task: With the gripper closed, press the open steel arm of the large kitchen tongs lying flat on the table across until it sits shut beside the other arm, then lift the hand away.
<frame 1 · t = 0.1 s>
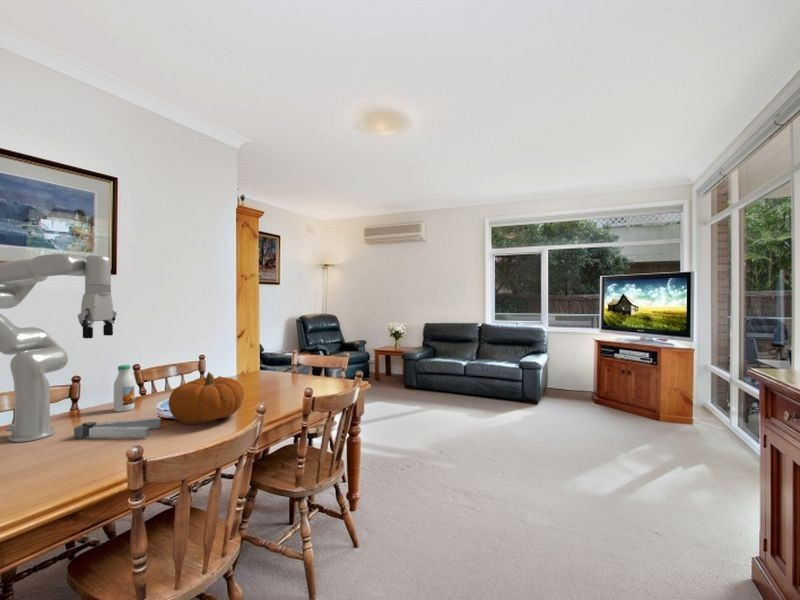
hand: (98, 336, 145), 37 cm above the table, tool pointing down, fingers open, 9 cm apart
milk bottle: (124, 410, 180), on the table
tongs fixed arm: (92, 435, 147), on the table
pumpkin: (207, 419, 167), on the table
tongs free arm: (129, 425, 152), point 2 cm above the table, hinge at 22.0°
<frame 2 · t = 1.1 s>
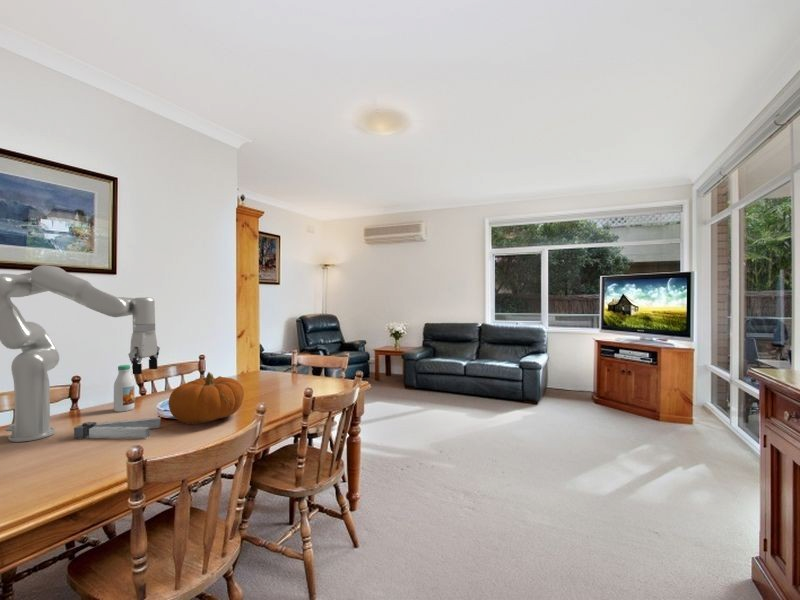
hand: (145, 371, 159), 22 cm above the table, tool pointing down, fingers open, 9 cm apart
nothing on the table moved.
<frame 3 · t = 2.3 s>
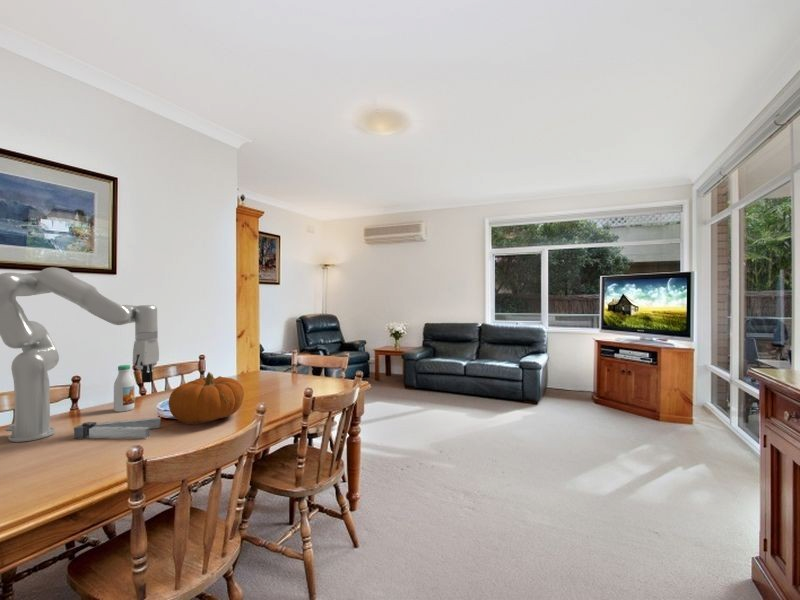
hand: (147, 381, 159), 17 cm above the table, tool pointing down, fingers closed
nothing on the table moved.
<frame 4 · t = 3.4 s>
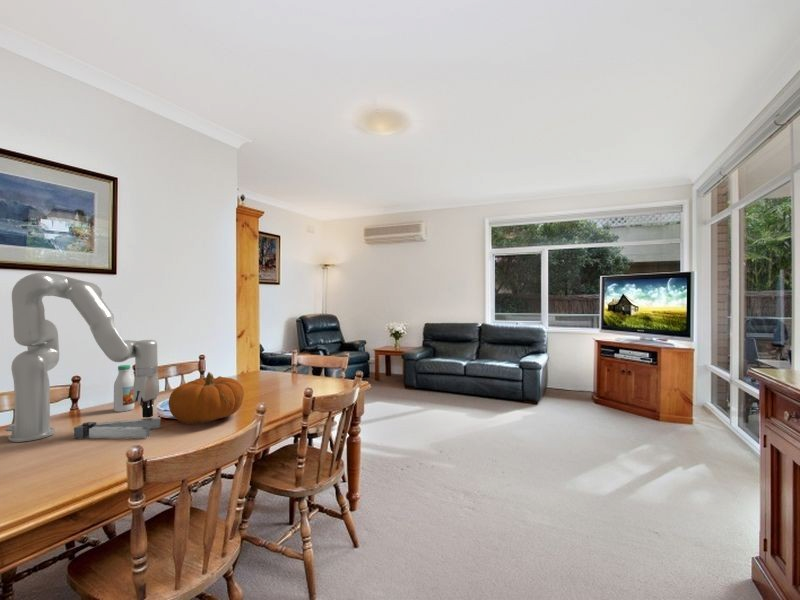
hand: (147, 416, 160), 3 cm above the table, tool pointing down, fingers closed
nothing on the table moved.
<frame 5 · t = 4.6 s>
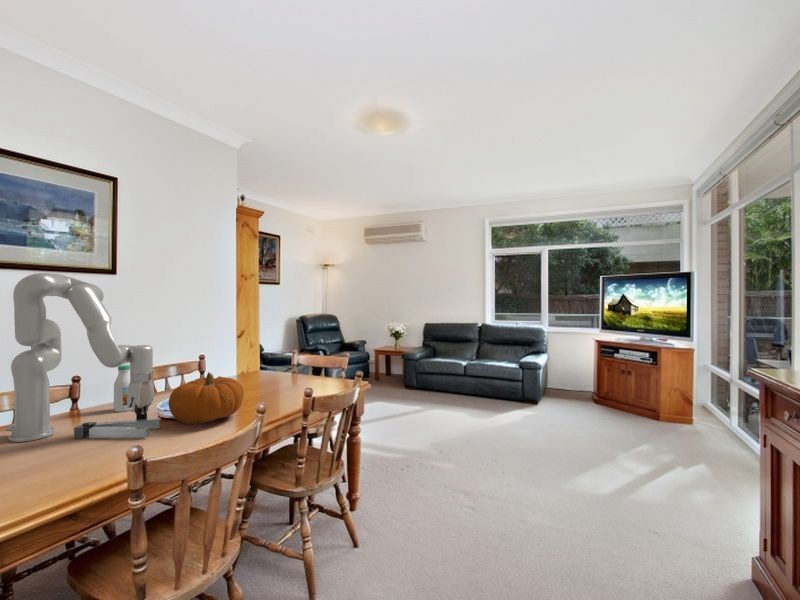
hand: (141, 423, 156), 2 cm above the table, tool pointing down, fingers closed
tongs free arm: (129, 425, 152), point 2 cm above the table, hinge at 20.0°, touching gripper
everything else where it was.
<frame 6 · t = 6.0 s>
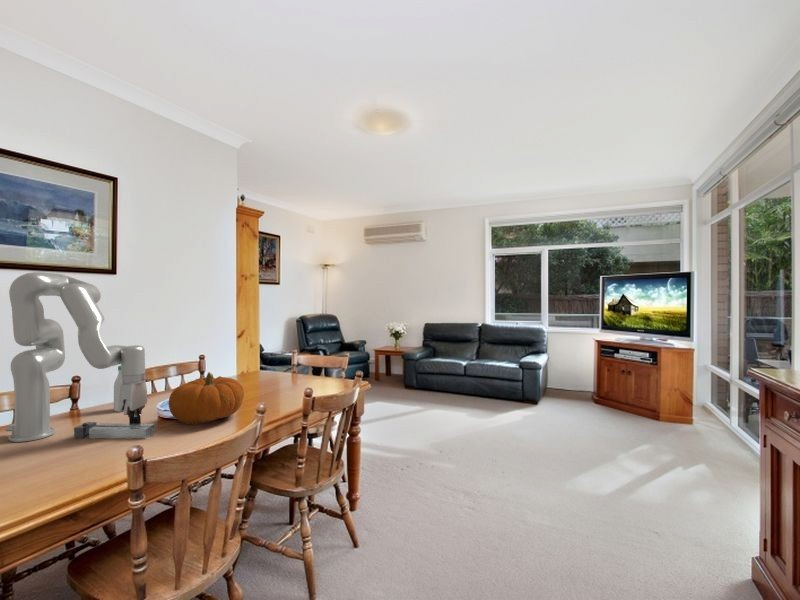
hand: (135, 426, 151), 2 cm above the table, tool pointing down, fingers closed
tongs free arm: (125, 429, 148), point 2 cm above the table, hinge at -1.0°, touching gripper
everything else where it was.
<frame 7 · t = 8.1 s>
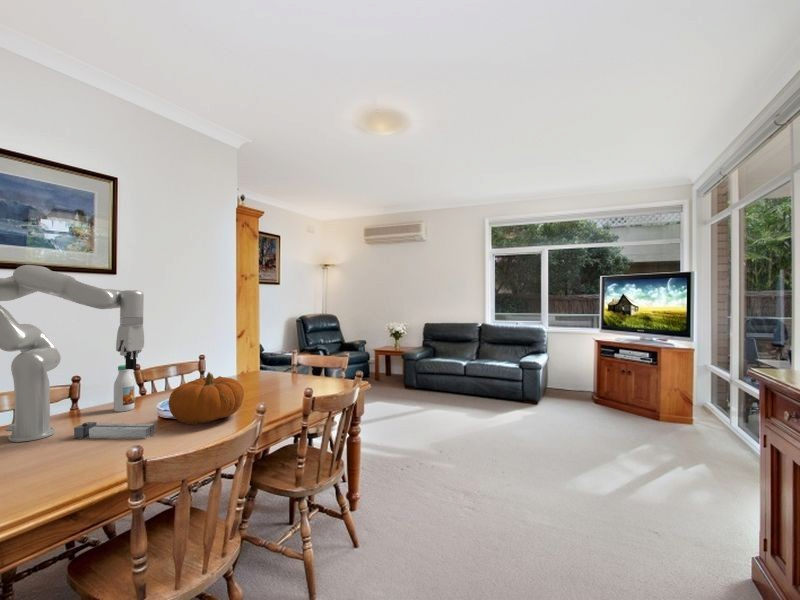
hand: (130, 368, 155), 23 cm above the table, tool pointing down, fingers closed
tongs free arm: (125, 429, 148), point 2 cm above the table, hinge at -0.5°
everything else where it was.
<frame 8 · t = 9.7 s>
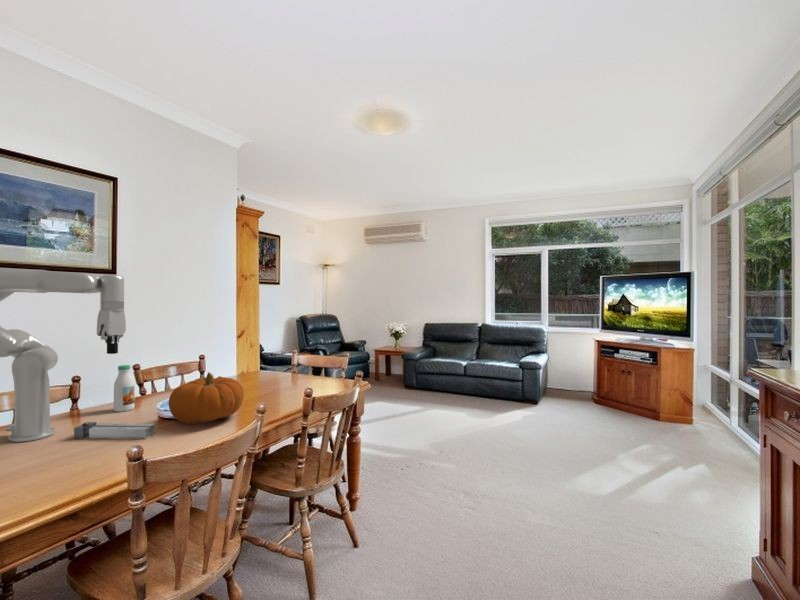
hand: (112, 353, 155), 29 cm above the table, tool pointing down, fingers closed
nothing on the table moved.
at the end: tongs free arm at +0° (first picture: +22°); pumpkin moved 0.3 cm from its start; milk bottle moved 0.2 cm from its start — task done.
